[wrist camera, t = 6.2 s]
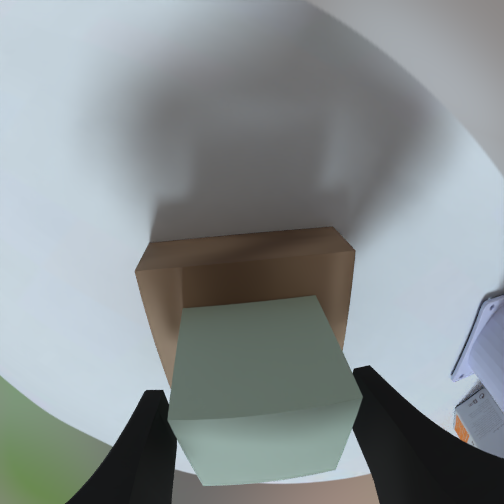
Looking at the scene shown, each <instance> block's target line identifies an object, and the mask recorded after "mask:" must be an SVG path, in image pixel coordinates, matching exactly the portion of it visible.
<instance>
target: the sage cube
mask: <svg viewBox="0 0 504 504" xmlns="http://www.w3.org/2000/svg"><path fill="white" fill-rule="evenodd" d="M362 398H363V396H362V394H361V392H360V389H359V387H358V385H357V383H356V380H355V378H354V376H353V374H352V371H351V369H350V367H349V365H348V363H347V361H346V358H345V356H344V354H343V352H342V350H341V348H340V345H339V343H338V341H337V339H336V337H335V335H334V333H333V330H332V328H331V326H330V324H329V322H328V320H327V318H326V316H325V314H324V312H323V309H322V307H321V305H320V303H319V301H318V299H317V297H316V295H312V296H304V297H296V298H287V299H278V300H269V301H260V302H250V303H240V304H229V305H218V306H206V307H194V308H183V310H182V316H181V323H180V329H179V336H178V342H177V349H176V356H175V363H174V371H173V378H172V386H171V394H170V402H169V411H168V422H169V424H170V426H171V428H172V430H173V432H174V434H175V436H176V438H177V440H178V442H179V444H180V446H181V448H182V450H183V451H184V453H185V455H186V457H187V459H188V460H189V462H190V464H191V466H192V468H193V469H194V471H195V473H196V474H197V476H198V478H199V479H200V481H201V483H202V484H203V486H217V485H238V484H250V483H261V482H269V481H277V480H284V479H291V478H297V477H303V476H308V475H313V474H318V473H323V472H328V471H332V470H335V469H336V467H337V465H338V462H339V460H340V458H341V455H342V453H343V450H344V448H345V445H346V443H347V440H348V438H349V435H350V432H351V430H352V427H353V424H354V421H355V419H356V416H357V413H358V410H359V407H360V404H361V401H362Z"/></svg>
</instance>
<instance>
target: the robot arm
mask: <svg viewBox="0 0 504 504" xmlns="http://www.w3.org/2000/svg"><path fill="white" fill-rule="evenodd" d="M474 373H475V374H476V376H477V377H478V378H479V380H480V381H481V382H482V384H483V385H484V386H485V388H486V389H487V390H488V392H489V393H490V394H491V396H492V397H493V398H494V400H495V401H496V403H497V404H498V405H499V407H500V408H501V410H502V411H503V412H504V295H502V296H499V297H496V298H492V299H489V300H486V301H485V302H484V303H483V304H482V306H481V309H480V311H479V314H478V317H477V320H476V322H475V325H474V327H473V330H472V332H471V335H470V337H469V340H468V342H467V344H466V347H465V349H464V351H463V354H462V356H461V358H460V360H459V362H458V364H457V366H456V369H455V371H454V373H453V375H452V377H451V380H452V381H453V382H456V381H458V380H461V379H463V378H465V377H468V376H470V375H472V374H474ZM353 376H354V378H355V380H356V383H357V385H358V387H359V389H360V392H361V394H362V396H363V398H362V401H361V404H360V407H359V410H358V413H357V416H356V419H355V421H354V424H353V427H352V429H353V431H354V434H355V436H356V438H357V441H358V443H359V446H360V448H361V450H362V453H363V455H364V457H365V460H366V462H367V464H368V467H369V469H370V472H371V474H372V477H373V480H374V483H375V487H376V491H377V495H378V499H379V503H380V504H504V458H501V457H498V456H496V455H493V454H490V453H488V452H485V451H483V450H480V449H478V448H476V447H474V446H472V445H470V444H468V443H466V442H464V441H462V440H460V439H459V438H457V437H455V436H453V435H452V434H450V433H449V432H447V431H446V430H444V429H442V428H441V427H440V426H438V425H437V424H435V423H434V422H433V421H431V420H430V419H429V418H427V417H426V416H425V415H423V414H422V413H421V412H420V411H419V410H417V409H416V408H415V407H414V406H413V405H411V404H410V403H409V402H408V401H407V400H406V399H405V398H404V397H402V396H401V395H400V394H399V393H398V392H397V391H396V390H395V389H394V388H393V387H392V386H391V385H390V384H388V383H387V382H386V381H385V380H384V379H383V378H382V377H381V376H380V375H379V374H378V373H377V372H376V371H375V370H374V369H373V368H372V367H371V366H370V365H369V366H364V367H360V368H355V369H354V370H353ZM168 411H169V404H168V401H167V399H166V396H165V394H164V391H163V390H146V391H145V392H144V394H143V395H142V397H141V399H140V401H139V403H138V405H137V407H136V409H135V411H134V412H133V414H132V416H131V418H130V420H129V421H128V423H127V425H126V427H125V428H124V430H123V432H122V433H121V435H120V437H119V438H118V440H117V441H116V443H115V444H114V446H113V447H112V449H111V450H110V452H109V453H108V455H107V456H106V458H105V459H104V461H103V462H102V463H101V465H100V466H99V467H98V469H97V470H96V471H95V473H94V474H93V475H92V476H91V477H90V479H89V480H88V481H87V482H86V483H85V484H84V485H83V486H82V488H81V489H80V490H79V491H78V492H77V493H76V494H75V495H74V496H73V497H72V498H71V499H70V500H69V501H68V502H67V503H65V504H171V501H172V488H173V479H174V469H175V460H176V450H177V438H176V436H175V434H174V432H173V430H172V428H171V426H170V424H169V422H168Z"/></svg>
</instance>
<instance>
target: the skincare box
mask: <svg viewBox="0 0 504 504" xmlns="http://www.w3.org/2000/svg"><path fill="white" fill-rule="evenodd" d="M453 428H454V430H455V431H456V433H457V435H458V436H459V438H460V440H462V441H464V442H466V443H468V444H470V445H472V446H474V447H476V448H478V449H480V450H483V451H485V452H488V453H490V454H493V455H496V456H498V457H501V458H504V413H503V412H502V410H501V409H500V408H499V406H498V405H497V403H496V402H495V400H494V399H493V397H492V396H491V395H490V393H489V392H488V390H487V389H486V388H485V387H484V388H482V389H481V390H480V391H478V392H477V393H476V394H475V395H473V396H472V397H471V398H469V399H468V400H466V401H465V402H464V403H462V404H461V405H459V406H458V407H457V408H455V420H454V426H453Z"/></svg>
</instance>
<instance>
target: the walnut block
mask: <svg viewBox="0 0 504 504" xmlns="http://www.w3.org/2000/svg"><path fill="white" fill-rule="evenodd" d="M354 261H355V250H354V249H353V247H352V246H351V245H350V244H349V243H348V242H347V241H346V240H345V239H344V238H343V237H342V236H341V235H340V234H339V233H338V232H337V231H336V230H335V228H334V227H321V228H309V229H296V230H284V231H272V232H261V233H249V234H238V235H227V236H216V237H205V238H195V239H185V240H175V241H165V242H155V243H149V244H148V246H147V248H146V250H145V252H144V254H143V256H142V258H141V260H140V262H139V264H138V266H137V267H136V269H135V275H136V279H137V282H138V286H139V290H140V294H141V298H142V301H143V305H144V308H145V312H146V315H147V319H148V322H149V325H150V329H151V332H152V335H153V338H154V342H155V345H156V348H157V351H158V354H159V357H160V360H161V363H162V366H163V369H164V371H165V374H166V377H167V380H168V383H169V385H170V388H171V386H172V378H173V371H174V363H175V356H176V349H177V342H178V336H179V329H180V323H181V316H182V310H183V308H194V307H206V306H218V305H229V304H240V303H250V302H260V301H269V300H278V299H287V298H296V297H304V296H312V295H316V297H317V299H318V301H319V303H320V305H321V307H322V309H323V312H324V314H325V316H326V318H327V320H328V322H329V324H330V326H331V328H332V330H333V333H334V335H335V337H336V339H337V341H338V343H339V345H340V348H341V350H342V351H343V345H344V339H345V332H346V326H347V319H348V312H349V305H350V297H351V289H352V280H353V271H354Z"/></svg>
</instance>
